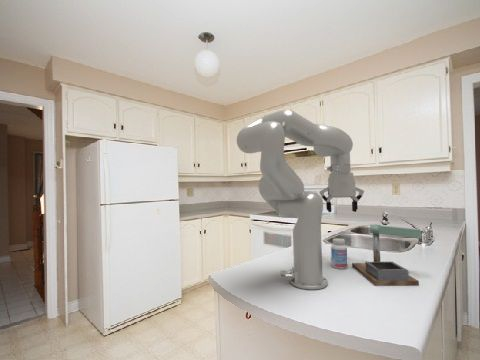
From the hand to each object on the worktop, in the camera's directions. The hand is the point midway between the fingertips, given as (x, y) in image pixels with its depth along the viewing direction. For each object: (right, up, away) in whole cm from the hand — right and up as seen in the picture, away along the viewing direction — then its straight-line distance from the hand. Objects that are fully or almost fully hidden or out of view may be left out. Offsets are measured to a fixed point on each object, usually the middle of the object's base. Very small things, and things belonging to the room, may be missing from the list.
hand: (341, 211), depth 105 cm
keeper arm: (+17, -8, -7) cm, 20 cm away
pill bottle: (-1, -23, 0) cm, 23 cm away
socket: (+9, -20, -15) cm, 27 cm away
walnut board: (+11, -22, -10) cm, 26 cm away
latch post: (+13, -21, -2) cm, 25 cm away
